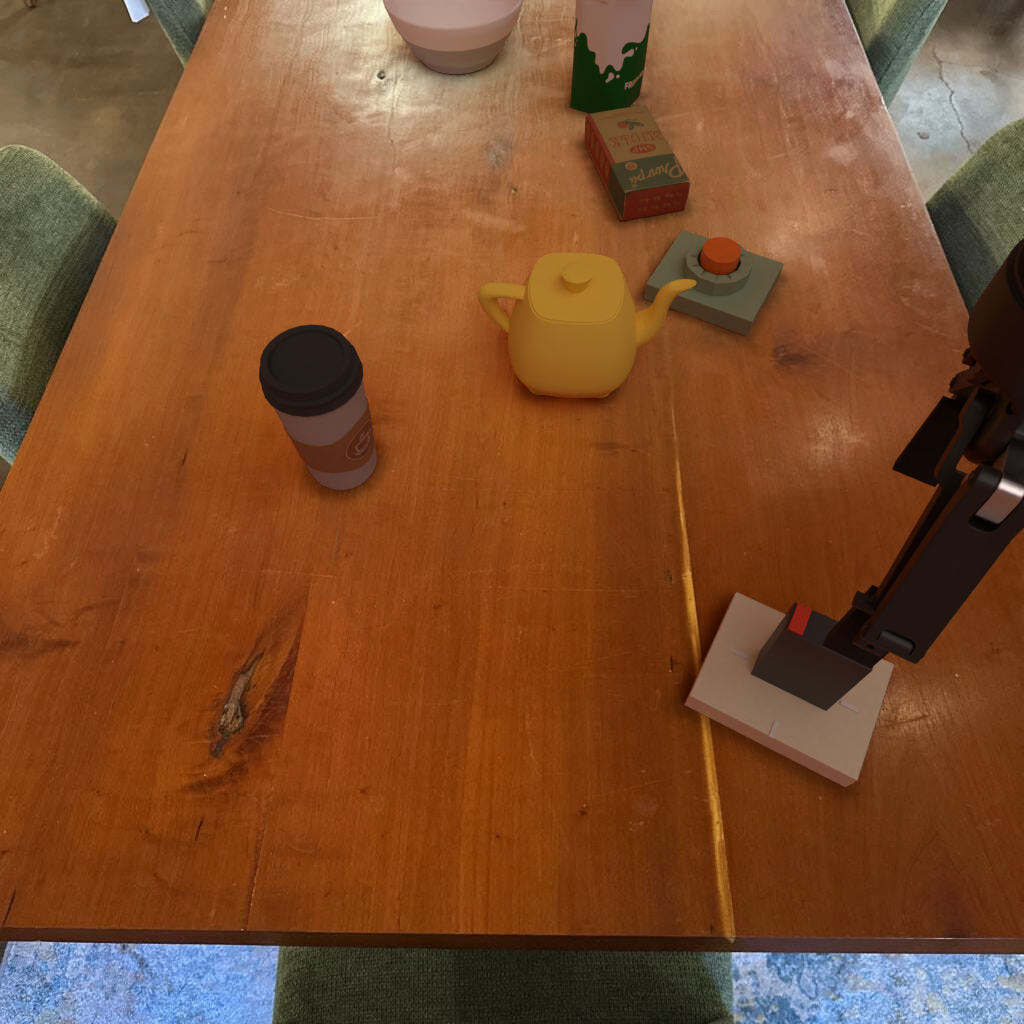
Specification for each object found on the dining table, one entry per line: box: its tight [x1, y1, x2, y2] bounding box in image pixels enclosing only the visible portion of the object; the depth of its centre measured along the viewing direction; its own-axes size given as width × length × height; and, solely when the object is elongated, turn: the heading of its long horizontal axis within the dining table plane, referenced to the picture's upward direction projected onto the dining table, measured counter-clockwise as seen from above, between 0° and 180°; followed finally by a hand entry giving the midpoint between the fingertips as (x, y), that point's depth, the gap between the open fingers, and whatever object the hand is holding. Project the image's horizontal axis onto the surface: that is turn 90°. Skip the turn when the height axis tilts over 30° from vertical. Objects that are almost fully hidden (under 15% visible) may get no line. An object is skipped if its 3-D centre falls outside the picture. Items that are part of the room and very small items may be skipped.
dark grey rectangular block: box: [751, 601, 874, 711], centre depth 55 cm, size 6×2×9 cm, turn 61°
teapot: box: [476, 252, 697, 399], centre depth 74 cm, size 13×20×12 cm
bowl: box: [382, 0, 524, 75], centre depth 107 cm, size 20×20×8 cm
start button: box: [700, 236, 741, 275], centre depth 81 cm, size 4×4×2 cm
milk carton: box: [569, 0, 654, 114], centre depth 95 cm, size 9×9×20 cm
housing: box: [643, 229, 785, 337], centre depth 83 cm, size 12×10×4 cm
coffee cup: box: [258, 324, 378, 491], centre depth 67 cm, size 8×8×15 cm
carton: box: [584, 104, 691, 222], centre depth 93 cm, size 8×16×4 cm, turn 14°
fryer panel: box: [683, 591, 895, 788], centre depth 60 cm, size 13×10×3 cm
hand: (883, 557), depth 45 cm, fingers open, 13 cm apart
